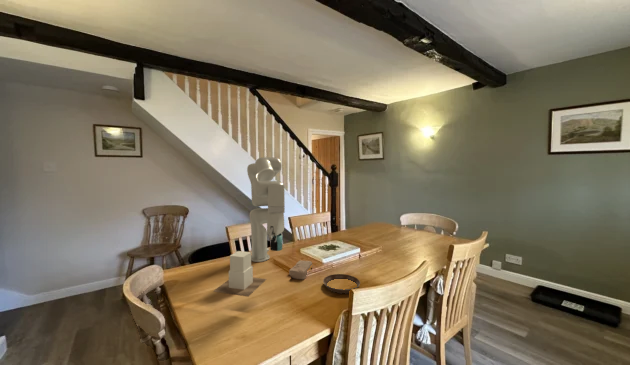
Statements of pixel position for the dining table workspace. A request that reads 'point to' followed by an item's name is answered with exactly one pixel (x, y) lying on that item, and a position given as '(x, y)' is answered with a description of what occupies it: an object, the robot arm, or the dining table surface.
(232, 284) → the tower block lower
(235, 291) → the tower board
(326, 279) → the dark brown ring
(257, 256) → the robot arm
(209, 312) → the dining table surface
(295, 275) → the brick
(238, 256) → the tower block upper
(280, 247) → the teal cylinder
